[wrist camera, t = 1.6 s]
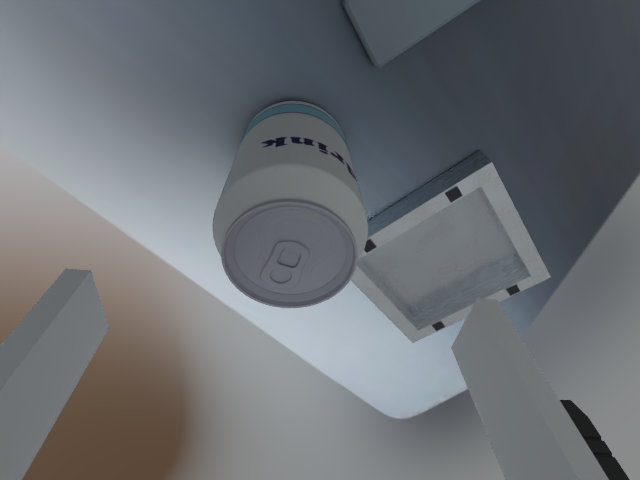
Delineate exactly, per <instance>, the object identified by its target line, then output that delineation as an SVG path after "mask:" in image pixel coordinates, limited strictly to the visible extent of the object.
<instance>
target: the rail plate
mask: <svg viewBox="0 0 640 480" xmlns="http://www.w3.org/2000/svg"><path fill="white" fill-rule="evenodd" d="M367 222H368V236H367V242H366V245H365V248H364V251H363V253H362V255H361V257H360V259H359V260H358V262H357V265H356V269H355V272H354V274H353V276H352V278H351V279H350V280H351V281H352V282H353V283H354V284H355V285H356V286H357V287H358V288H359V289H360V290H361V291H362V292H363V293H364V294H365V295H366V296H367V297H368V298H369V299H370V300H371V301H372V302H373V303H374V304H375V305H376V306H377V307H378V308H379V309H380V310H381V311H382V312H383V313H384V314H385V315H386V316H387V317H388V318H389V319H390V320H391V321H392V322H393V323H394V324H395V325H396V326H397V327H398V328H399V329H400V330H401V331H402V332H403V333H404V335H405V336H406V337H407V338H408V339H409V340H410V341H411V342H412V343H414V342H416V341H418V340H420V339H422V338H424V337H426V336H428V335H431V334H433V333H435V332H437V331H439V330H441V329H443V328H445V327H447V326H449V325H452V324H454V323H456V322H458V321H460V320H462V319H464V318H466V317H468V315H469V313H470V311H471V309H472V307H473V305H474V303H475V301H476V300H477V298H481V299H495V300H498V302H500V301H502V300H504V299H506V298H508V297H510V296H513V295H515V294H517V293H519V292H521V291H523V290H525V289H527V288H529V287H531V286H534V285H536V284H538V283H540V282H542V281H544V280H546V279H548V278H550V275H549V273H548V271H547V269H546V267H545V265H544V263H543V261H542V259H541V257H540V255H539V253H538V251H537V249H536V247H535V245H534V243H533V241H532V240H531V238H530V236H529V234H528V232H527V230H526V228H525V226H524V224H523V222H522V220H521V218H520V216H519V214H518V212H517V210H516V208H515V206H514V204H513V202H512V200H511V199H510V197H509V195H508V193H507V191H506V189H505V187H504V185H503V183H502V181H501V179H500V177H499V175H498V173H497V171H496V169H495V167H494V165H493V163H492V162H491V161H490V160H489V159H488V158H487V157H486V156H485V155H484V154H483V153H482V152H481V151H480V150H479V151H477V152H476V153H474V154H473V155H471V156H469V157H468V158H466V159H465V160H463V161H462V162H460V163H458V164H457V165H455V166H454V167H452V168H451V169H449V170H447V171H446V172H444V173H443V174H441V175H439V176H438V177H436V178H435V179H433V180H432V181H430V182H428V183H427V184H425V185H424V186H422V187H421V188H419V189H417V190H416V191H414V192H413V193H411V194H410V195H408V196H406V197H405V198H403V199H402V200H400V201H398V202H397V203H395V204H394V205H392V206H391V207H389V208H387V209H386V210H384V211H383V212H381V213H380V214H378V215H376V216H375V217H373V218H372V219H370V220H369V221H367Z"/></svg>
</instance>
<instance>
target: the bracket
mask: <svg viewBox="0 0 640 480" xmlns="http://www.w3.org/2000/svg"><path fill="white" fill-rule="evenodd" d="M479 1H480V0H342V5H343V7H344V9H345V11H346V13H347V15H348V17H349V19H350V21H351V23H352V25H353V27H354V29H355V31H356V33H357V35H358V37H359V39H360V41H361V43H362V45H363V47H364V49H365V51H366V53H367V54H368V56H369V58H370V60H371V62H372V64H373V65H374V66H375V67H377V68H381V67H382V66H384V65H385V64H387V63H388V62H390V61H391V60H393V59H394V58H396V57H397V56H399V55H400V54H402V53H403V52H405V51H406V50H408V49H409V48H410V47H412V46H413V45H415V44H416V43H418V42H419V41H421V40H422V39H424V38H425V37H427V36H428V35H430V34H431V33H433V32H434V31H436V30H437V29H439V28H440V27H442V26H443V25H445V24H446V23H448V22H449V21H451V20H452V19H454V18H455V17H457V16H458V15H459V14H461V13H462V12H464V11H465V10H467V9H468V8H470V7H471V6H473V5H474V4H476V3H477V2H479Z"/></svg>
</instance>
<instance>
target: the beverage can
mask: <svg viewBox="0 0 640 480" xmlns="http://www.w3.org/2000/svg"><path fill="white" fill-rule="evenodd" d="M213 236H214V241H215V244H216V247H217V250H218V252H219V254H220V256H221V257H222V264H223V267H224V270H225V272H226V274H227V276H228V278H229V279H230V281H231V282H232V283H233V284H234V286H235V287H236V288H237V289H239V290H240V291H241V292H242V293H244V294H245V295H246V296H248V297H250V298H251V299H253V300H256V301H258V302H260V303H263V304H266V305H270V306H275V307H281V308H300V307H307V306H311V305H315V304H318V303H321V302H323V301H325V300H327V299H329V298H331V297H333V296H334V295H336V294H337V293H338V292H340V291H341V290H342V289H343V288H344V287H345V286H346V285H347V284H348V282H349V281H350V279H351V278H352V276H353V274H354V272H355V269H356V265H357V262H358V260H359V259H360V257H361V255H362V253H363V251H364V248H365V245H366V242H367V236H368V222H367V216H366V212H365V209H364V205H363V201H362V198H361V194H360V191H359V187H358V183H357V180H356V176H355V172H354V169H353V165H352V161H351V158H350V154H349V151H348V147H347V143H346V140H345V136H344V134H343V132H342V130H341V128H340V126H339V125H338V123H337V122H336V121H335V119H334V118H333V117H332V116H331V115H329V114H328V113H327V112H326V111H324V110H323V109H321V108H319V107H317V106H315V105H313V104H310V103H306V102H301V101H286V102H280V103H276V104H274V105H271V106H269V107H267V108H265V109H264V110H262V111H261V112H260V113H258V114H257V115H256V116H255V117H254V118H253V120H252V121H251V122H250V124H249V125H248V127H247V129H246V131H245V133H244V136H243V139H242V141H241V144H240V146H239V149H238V152H237V154H236V157H235V160H234V162H233V165H232V167H231V170H230V173H229V175H228V178H227V181H226V183H225V186H224V188H223V191H222V194H221V196H220V199H219V201H218V204H217V207H216V210H215V213H214V218H213Z"/></svg>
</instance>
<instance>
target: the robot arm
mask: <svg viewBox="0 0 640 480" xmlns="http://www.w3.org/2000/svg"><path fill="white" fill-rule="evenodd" d="M108 329H109V327H108V324H107V321H106V317H105V314H104V311H103V308H102V305H101V301H100V298H99V294H98V292H97V288H96V285H95V281H94V278H93V275H92V272H91V270H77V269H65V270H64V271H63V273H62V274H61V275H60V276H59V277H58V278H57V280H56V281H55V282H54V283H53V284H52V286H51V287H50V288H49V289H48V290H47V291H46V293H45V294H44V295H43V296H42V297H41V298H40V300H39V301H38V302H37V303H36V304H35V305H34V307H33V308H32V309H31V310H30V311H29V312H28V314H27V315H26V316H25V317H24V318H23V320H22V321H21V322H20V323H19V324H18V325H17V327H16V328H15V329H14V330H13V331H12V332H11V334H10V335H9V336H8V337H7V338H6V340H5V341H4V342H3V343H2V344H1V345H0V480H22V478H23V477H24V475H25V473H26V471H27V470H28V468H29V466H30V464H31V463H32V461H33V459H34V458H35V456H36V454H37V452H38V451H39V449H40V447H41V445H42V444H43V442H44V440H45V438H46V436H47V435H48V433H49V431H50V430H51V428H52V426H53V425H54V423H55V421H56V419H57V418H58V416H59V414H60V412H61V411H62V409H63V407H64V405H65V403H66V402H67V400H68V398H69V397H70V395H71V393H72V391H73V390H74V388H75V386H76V384H77V383H78V381H79V379H80V377H81V375H82V374H83V372H84V371H85V369H86V367H87V365H88V364H89V362H90V360H91V358H92V357H93V355H94V353H95V351H96V350H97V348H98V346H99V345H100V343H101V341H102V339H103V337H104V336H105V334H106V332H107V331H108ZM451 348H452V350H453V353H454V355H455V358H456V360H457V363H458V365H459V368H460V370H461V372H462V375H463V377H464V380H465V382H466V385H467V387H468V389H469V392H470V394H471V397H472V399H473V402H474V404H475V406H476V409H477V411H478V414H479V416H480V419H481V421H482V423H483V426H484V428H485V431H486V433H487V436H488V438H489V441H490V443H491V445H492V448H493V450H494V453H495V455H496V458H497V460H498V463H499V465H500V467H501V470H502V472H503V475H504V477H505V479H506V480H629V478H628V477H627V475H626V474H625V472H624V471H623V469H622V468H621V466H620V465H619V463H618V462H617V460H616V459H615V457H612V453H611V451H610V450H609V448H608V447H607V445H606V444H605V442H604V441H602V440H601V436H600V435H599V433H598V432H597V430H596V428H595V427H594V425H593V424H592V422H591V421H590V419H589V418H588V417H587V416H586V415H585V414H584V413H583V412H582V411H581V410H580V409H579V408H578V407H577V406H576V405H575V404H574V403H573V402H572V401H571V400H559V398H558V397H557V395H556V394H555V392H554V390H553V389H552V387H551V385H550V384H549V382H548V381H547V379H546V377H545V376H544V374H543V373H542V371H541V369H540V368H539V366H538V365H537V363H536V361H535V360H534V358H533V357H532V355H531V353H530V352H529V350H528V348H527V347H526V345H525V344H524V342H523V340H522V339H521V337H520V336H519V334H518V332H517V331H516V329H515V328H514V326H513V324H512V323H511V321H510V319H509V318H508V316H507V315H506V313H505V311H504V310H503V308H502V307H501V305H500V303H499V302H498V300H495V299H481V298H477V300H476V301H475V303H474V305H473V307H472V309H471V311H470V313H469V315H468V317H467V319H466V321H465V322H464V324H463V326H462V328H461V330H460V332H459V334H458V336H457V338H456V340H455V341H454V343H453V345H452V347H451Z"/></svg>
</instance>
